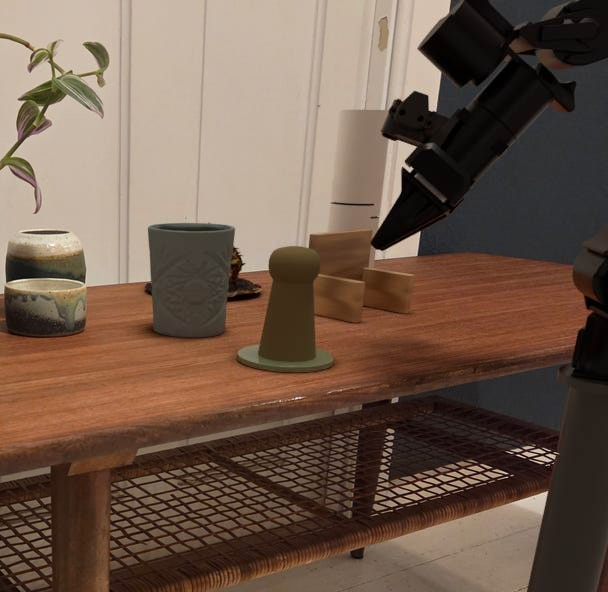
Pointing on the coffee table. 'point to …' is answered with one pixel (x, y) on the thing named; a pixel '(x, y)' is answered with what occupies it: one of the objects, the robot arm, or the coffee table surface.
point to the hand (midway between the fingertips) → (376, 247)
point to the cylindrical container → (358, 172)
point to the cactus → (234, 278)
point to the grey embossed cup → (190, 277)
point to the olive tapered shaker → (291, 306)
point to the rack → (355, 278)
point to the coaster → (256, 361)
